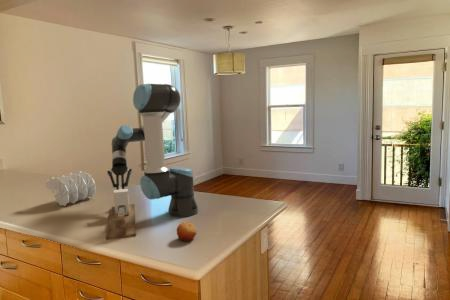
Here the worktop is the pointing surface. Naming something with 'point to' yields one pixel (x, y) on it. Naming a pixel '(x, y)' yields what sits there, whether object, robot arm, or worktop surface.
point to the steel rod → (121, 211)
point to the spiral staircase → (72, 187)
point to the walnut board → (121, 224)
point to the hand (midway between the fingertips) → (120, 197)
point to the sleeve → (121, 200)
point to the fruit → (186, 231)
